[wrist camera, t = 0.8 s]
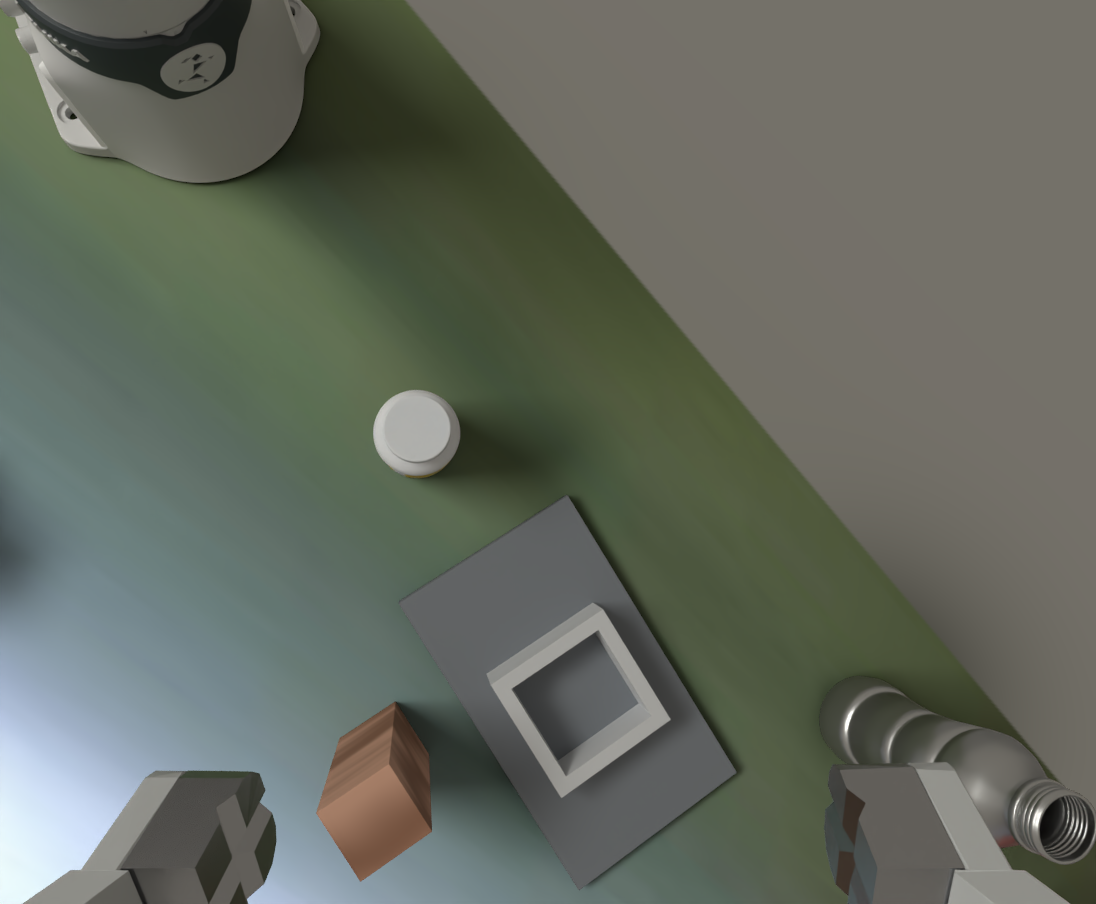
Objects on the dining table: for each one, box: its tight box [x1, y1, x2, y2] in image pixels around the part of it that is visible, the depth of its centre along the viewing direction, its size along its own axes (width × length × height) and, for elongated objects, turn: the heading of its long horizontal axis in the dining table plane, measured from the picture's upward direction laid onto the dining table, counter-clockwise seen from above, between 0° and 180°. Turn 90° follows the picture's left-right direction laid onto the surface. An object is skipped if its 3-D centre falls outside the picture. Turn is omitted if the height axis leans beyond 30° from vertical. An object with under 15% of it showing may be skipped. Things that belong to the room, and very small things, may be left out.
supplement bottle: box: [373, 390, 460, 478], centre depth 48 cm, size 5×5×10 cm
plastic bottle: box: [819, 676, 1096, 865], centre depth 48 cm, size 6×7×20 cm
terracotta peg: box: [316, 701, 432, 882], centre depth 46 cm, size 4×4×12 cm
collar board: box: [399, 495, 737, 890], centre depth 52 cm, size 24×14×4 cm, turn 32°
